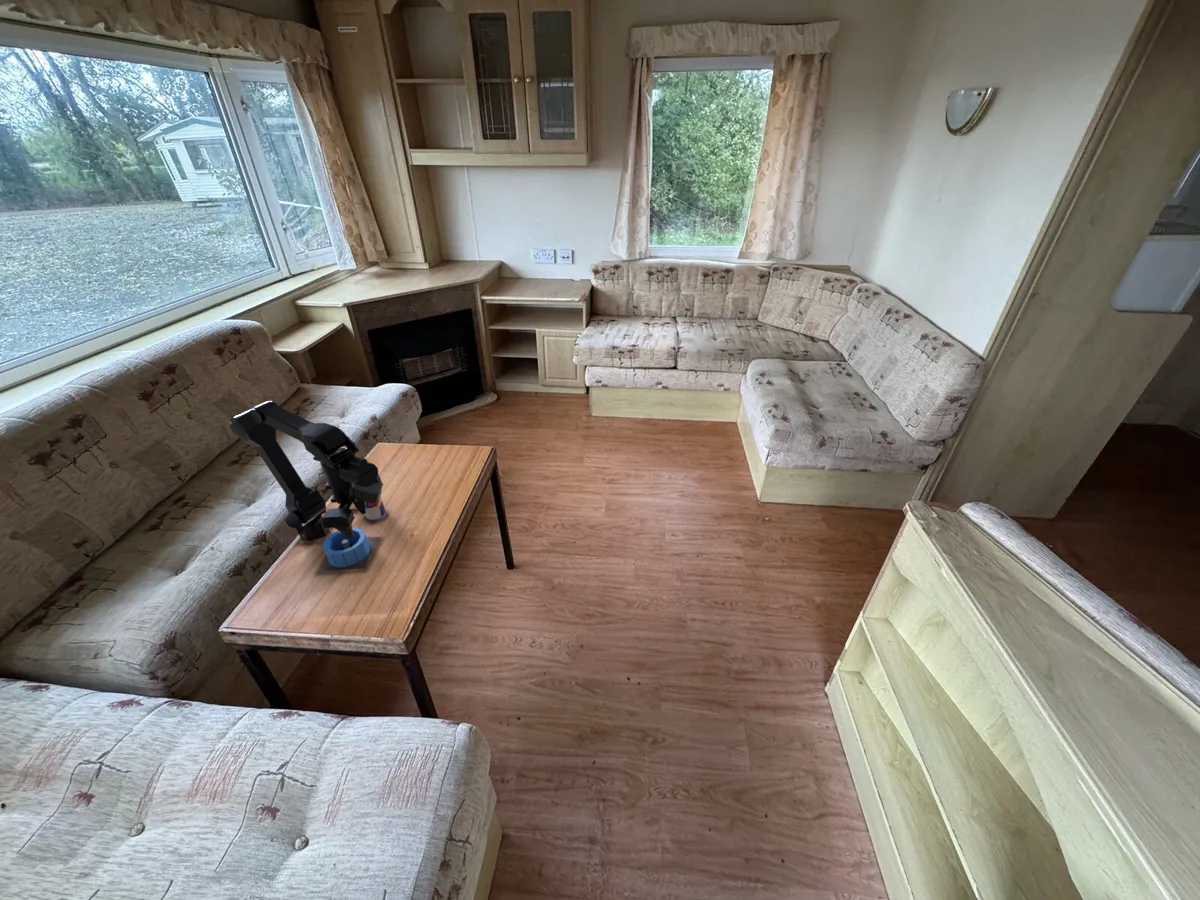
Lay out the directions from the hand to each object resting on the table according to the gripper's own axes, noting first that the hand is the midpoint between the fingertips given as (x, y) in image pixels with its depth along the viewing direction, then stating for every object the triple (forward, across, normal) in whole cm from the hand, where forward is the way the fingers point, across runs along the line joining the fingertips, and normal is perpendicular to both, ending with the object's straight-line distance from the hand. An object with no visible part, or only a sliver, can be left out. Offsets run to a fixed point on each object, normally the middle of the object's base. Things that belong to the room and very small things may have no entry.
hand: (357, 525), depth 124 cm
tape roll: (+9, 0, +5) cm, 10 cm away
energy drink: (+10, +16, +2) cm, 19 cm away
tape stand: (+10, 0, +5) cm, 11 cm away
